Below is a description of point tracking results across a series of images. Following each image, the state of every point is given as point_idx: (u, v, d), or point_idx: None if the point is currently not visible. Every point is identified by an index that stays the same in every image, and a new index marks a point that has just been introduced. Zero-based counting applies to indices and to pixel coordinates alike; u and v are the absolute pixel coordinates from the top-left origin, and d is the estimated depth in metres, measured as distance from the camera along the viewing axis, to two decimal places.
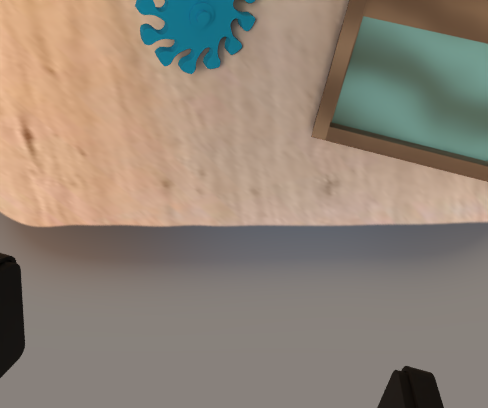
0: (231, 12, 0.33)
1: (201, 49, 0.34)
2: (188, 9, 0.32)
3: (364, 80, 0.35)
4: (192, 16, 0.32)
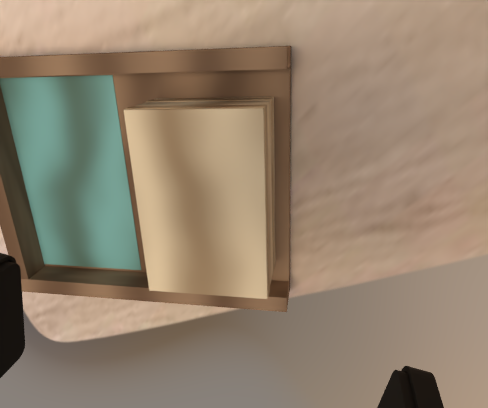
0: None
1: None
2: None
3: (55, 100, 0.29)
4: None
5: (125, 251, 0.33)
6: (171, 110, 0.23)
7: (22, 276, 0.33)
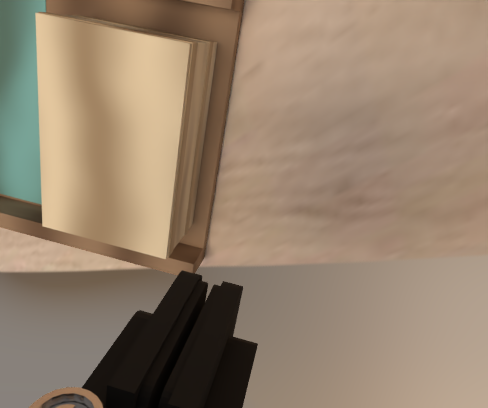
0: None
1: None
2: None
3: None
4: None
5: (35, 183, 0.30)
6: (88, 24, 0.20)
7: None
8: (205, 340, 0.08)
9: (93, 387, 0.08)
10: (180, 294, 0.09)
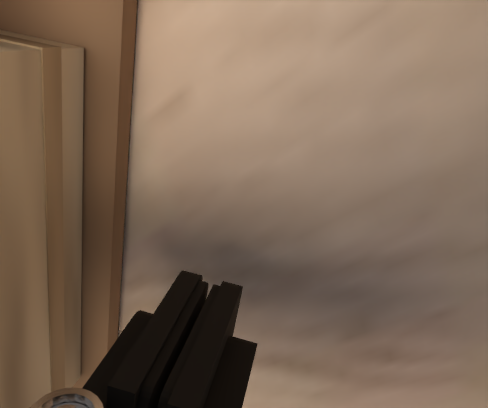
0: None
1: None
2: None
3: None
4: None
5: None
6: None
7: None
8: (204, 340, 0.08)
9: (94, 387, 0.08)
10: (180, 294, 0.09)
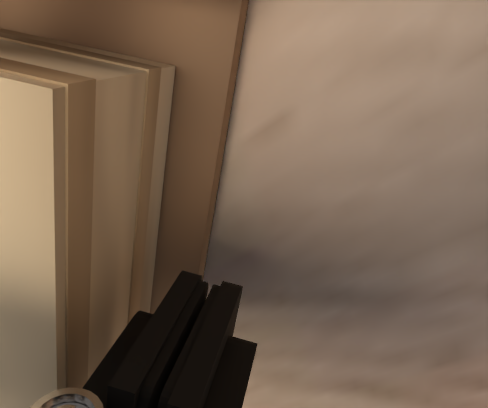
0: None
1: None
2: None
3: None
4: None
5: None
6: None
7: None
8: (204, 340, 0.08)
9: (94, 387, 0.08)
10: (180, 294, 0.09)
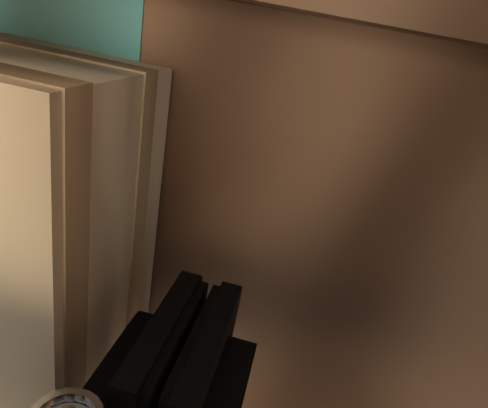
0: None
1: None
2: None
3: None
4: None
5: None
6: None
7: None
8: (204, 340, 0.08)
9: (94, 387, 0.08)
10: (181, 294, 0.09)
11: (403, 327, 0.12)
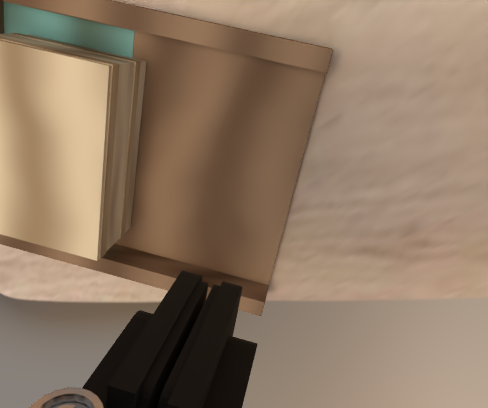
0: None
1: None
2: None
3: None
4: None
5: None
6: (17, 45, 0.22)
7: None
8: (204, 340, 0.08)
9: (93, 387, 0.08)
10: (180, 294, 0.09)
11: (247, 176, 0.28)
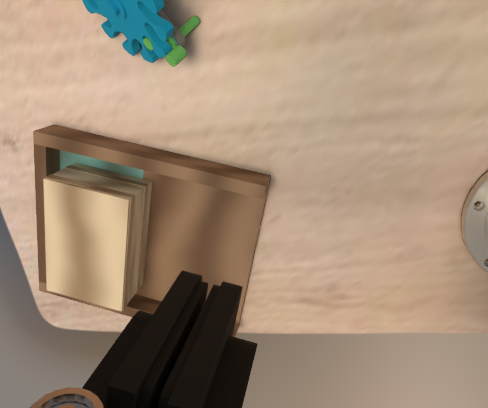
0: (129, 35, 0.33)
1: None
2: None
3: None
4: None
5: None
6: (73, 186, 0.35)
7: (45, 281, 0.44)
8: (205, 340, 0.08)
9: (94, 387, 0.08)
10: (180, 294, 0.09)
11: (220, 252, 0.41)
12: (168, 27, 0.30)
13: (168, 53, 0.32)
